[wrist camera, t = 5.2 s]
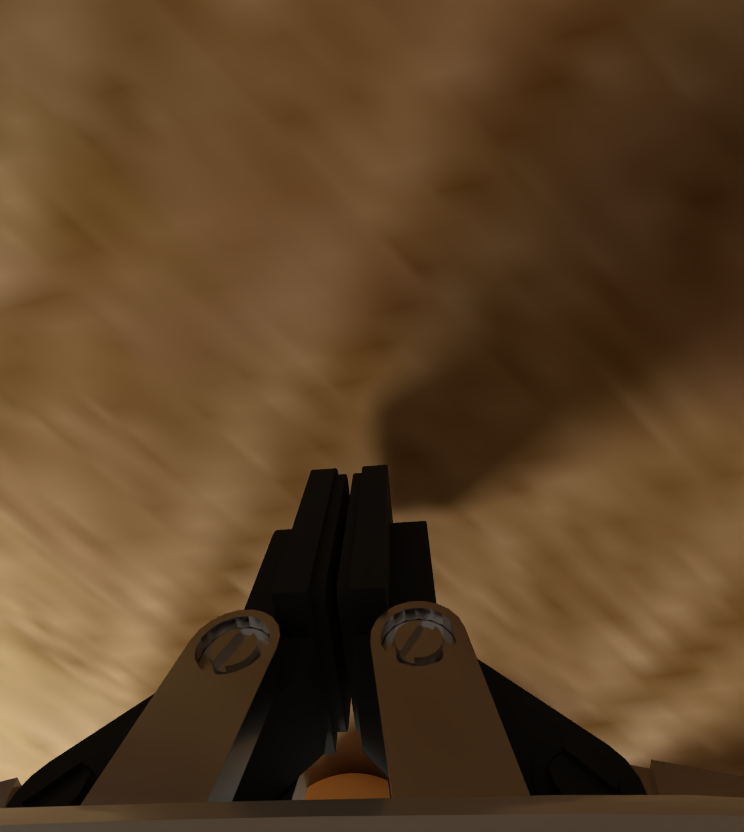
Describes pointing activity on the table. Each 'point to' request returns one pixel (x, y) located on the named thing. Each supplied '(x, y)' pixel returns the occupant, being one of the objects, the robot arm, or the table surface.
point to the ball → (348, 787)
